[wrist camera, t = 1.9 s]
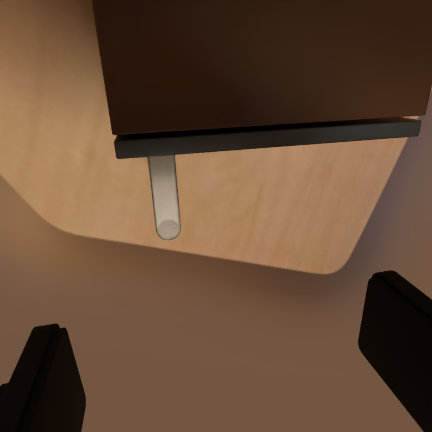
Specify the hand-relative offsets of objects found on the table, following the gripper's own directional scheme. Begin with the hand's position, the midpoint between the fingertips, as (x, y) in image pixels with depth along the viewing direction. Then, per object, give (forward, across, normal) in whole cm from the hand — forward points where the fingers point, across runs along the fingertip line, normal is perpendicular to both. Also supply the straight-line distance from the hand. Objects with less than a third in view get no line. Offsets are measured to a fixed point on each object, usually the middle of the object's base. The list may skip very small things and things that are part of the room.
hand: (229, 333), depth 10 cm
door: (+23, -4, -2) cm, 23 cm away
